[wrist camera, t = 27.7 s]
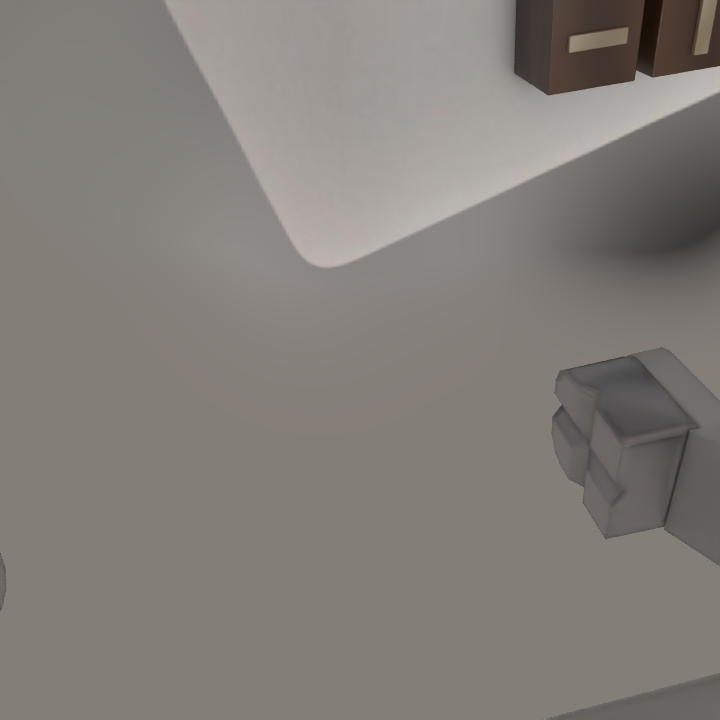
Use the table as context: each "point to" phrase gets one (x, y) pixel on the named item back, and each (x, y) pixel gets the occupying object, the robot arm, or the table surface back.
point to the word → (612, 40)
